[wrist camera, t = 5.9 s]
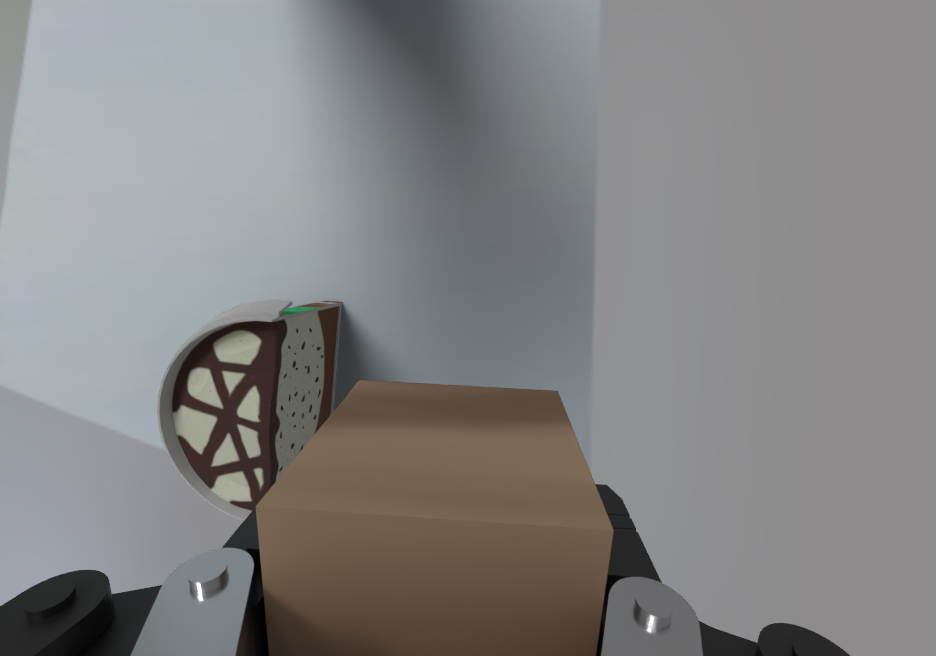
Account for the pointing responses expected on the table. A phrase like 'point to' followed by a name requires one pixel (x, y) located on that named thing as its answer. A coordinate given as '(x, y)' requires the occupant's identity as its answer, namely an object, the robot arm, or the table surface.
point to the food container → (249, 398)
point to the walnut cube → (436, 529)
